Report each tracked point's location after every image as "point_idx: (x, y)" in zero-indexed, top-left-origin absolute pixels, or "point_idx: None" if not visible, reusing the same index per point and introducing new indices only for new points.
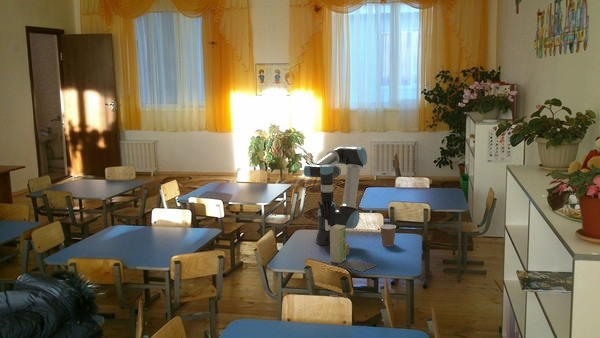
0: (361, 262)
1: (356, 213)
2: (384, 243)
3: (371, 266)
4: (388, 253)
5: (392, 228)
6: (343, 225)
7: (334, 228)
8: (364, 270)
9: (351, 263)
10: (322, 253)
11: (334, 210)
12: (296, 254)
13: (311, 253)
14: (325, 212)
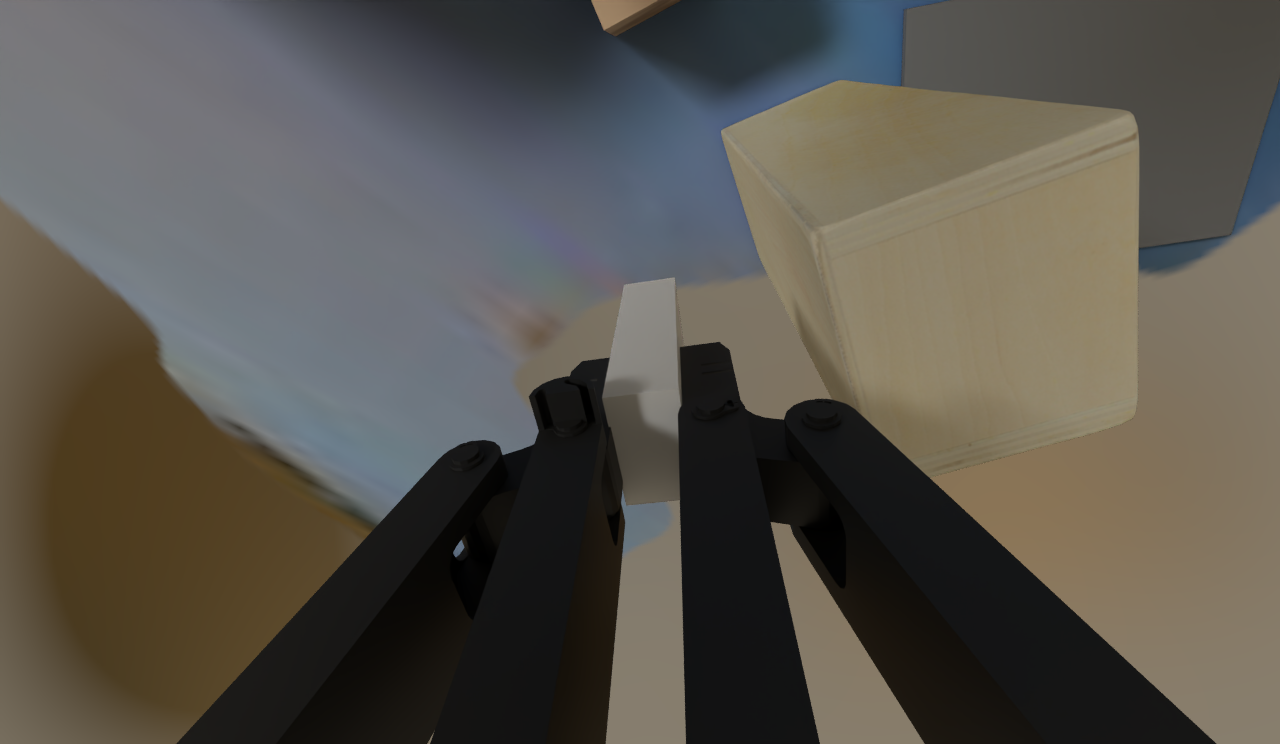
0: (1077, 19)
1: None
2: None
3: (1268, 30)
4: None
5: None
6: (1069, 153)
7: (997, 456)
8: (1243, 194)
9: None
10: (484, 140)
11: (1136, 705)
12: (377, 353)
13: (421, 231)
14: (605, 686)
